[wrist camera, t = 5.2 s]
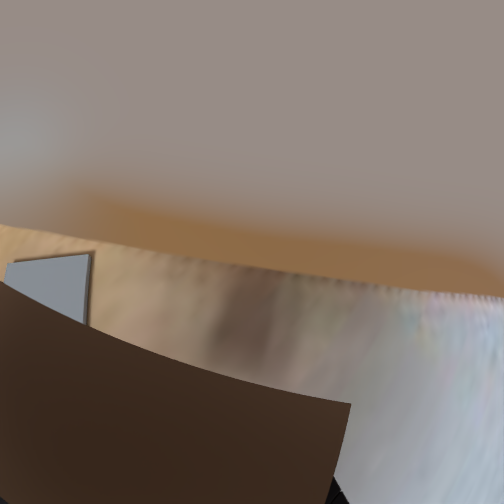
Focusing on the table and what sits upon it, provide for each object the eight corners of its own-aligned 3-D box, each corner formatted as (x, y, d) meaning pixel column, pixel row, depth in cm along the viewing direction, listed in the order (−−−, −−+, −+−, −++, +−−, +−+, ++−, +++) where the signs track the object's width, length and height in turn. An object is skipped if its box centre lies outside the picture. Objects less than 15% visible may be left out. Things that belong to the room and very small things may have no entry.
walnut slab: (245, 463, 12) (280, 608, 2) (148, 433, 13) (-49, 449, 2) (260, 409, 14) (351, 403, 3) (165, 381, 14) (0, 281, 3)
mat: (90, 438, 16) (86, 438, 16) (0, 423, 15) (-5, 422, 14) (91, 257, 23) (88, 254, 22) (10, 266, 22) (7, 263, 21)
